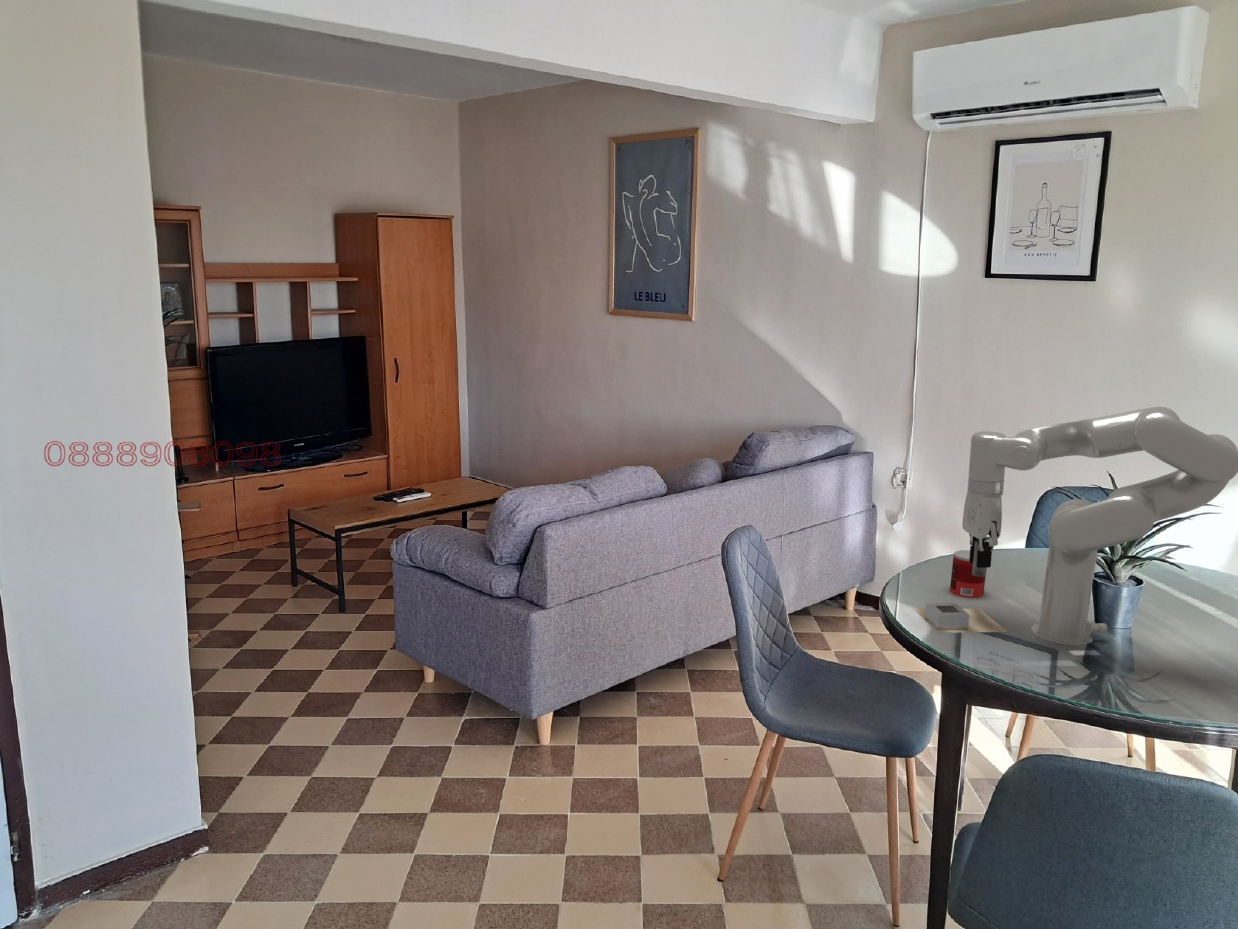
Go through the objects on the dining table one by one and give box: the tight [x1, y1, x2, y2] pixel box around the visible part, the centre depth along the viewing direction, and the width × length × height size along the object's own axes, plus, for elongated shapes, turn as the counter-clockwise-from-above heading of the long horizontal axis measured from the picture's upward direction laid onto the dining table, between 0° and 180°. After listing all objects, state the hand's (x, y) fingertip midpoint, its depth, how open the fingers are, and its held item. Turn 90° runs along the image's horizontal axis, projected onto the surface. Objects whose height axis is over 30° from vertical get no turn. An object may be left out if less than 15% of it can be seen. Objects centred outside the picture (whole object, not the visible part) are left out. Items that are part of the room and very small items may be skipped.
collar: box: [925, 602, 969, 630], centre depth 216 cm, size 7×7×4 cm
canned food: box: [949, 549, 988, 599], centre depth 236 cm, size 8×8×11 cm
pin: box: [972, 540, 989, 577], centre depth 218 cm, size 3×3×8 cm
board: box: [913, 608, 1008, 634], centre depth 218 cm, size 16×14×1 cm
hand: (979, 564), depth 218 cm, fingers closed on pin, 2 cm apart
